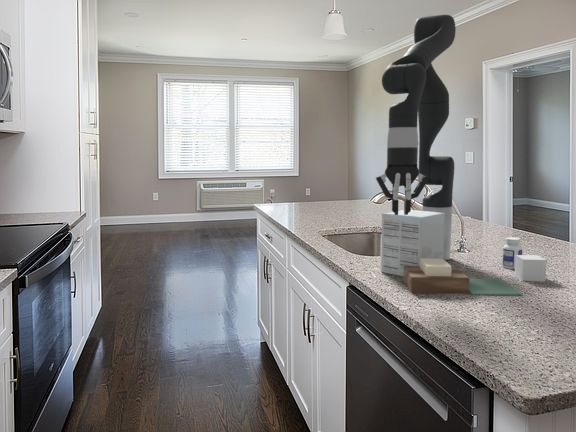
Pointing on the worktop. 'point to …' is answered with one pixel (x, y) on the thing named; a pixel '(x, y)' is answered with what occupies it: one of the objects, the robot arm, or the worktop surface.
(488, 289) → the green mat
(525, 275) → the white cube
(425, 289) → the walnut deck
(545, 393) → the worktop surface
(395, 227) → the supplement box
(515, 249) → the pill bottle
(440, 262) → the cream tile
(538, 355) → the worktop surface
